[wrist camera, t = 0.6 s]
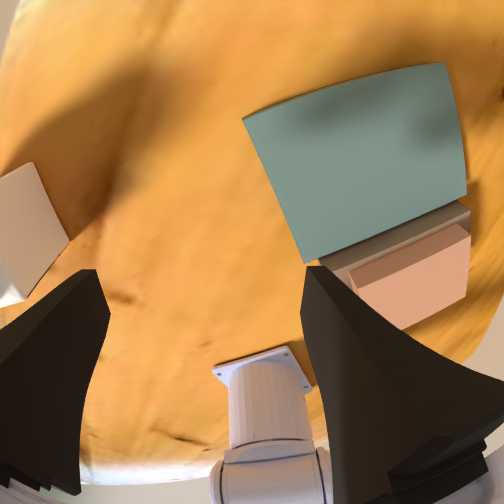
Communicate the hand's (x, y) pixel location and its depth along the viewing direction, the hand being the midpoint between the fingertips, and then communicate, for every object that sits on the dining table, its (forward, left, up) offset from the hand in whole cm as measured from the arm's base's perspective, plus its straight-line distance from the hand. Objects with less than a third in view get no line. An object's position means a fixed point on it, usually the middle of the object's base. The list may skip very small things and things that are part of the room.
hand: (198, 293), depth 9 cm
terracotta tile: (-10, -11, -7) cm, 16 cm away
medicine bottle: (+6, +14, -10) cm, 19 cm away
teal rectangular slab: (-1, -11, -10) cm, 14 cm away
